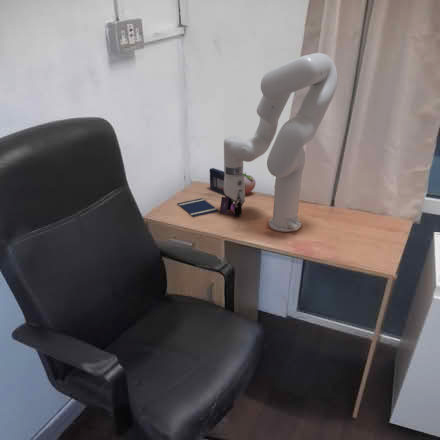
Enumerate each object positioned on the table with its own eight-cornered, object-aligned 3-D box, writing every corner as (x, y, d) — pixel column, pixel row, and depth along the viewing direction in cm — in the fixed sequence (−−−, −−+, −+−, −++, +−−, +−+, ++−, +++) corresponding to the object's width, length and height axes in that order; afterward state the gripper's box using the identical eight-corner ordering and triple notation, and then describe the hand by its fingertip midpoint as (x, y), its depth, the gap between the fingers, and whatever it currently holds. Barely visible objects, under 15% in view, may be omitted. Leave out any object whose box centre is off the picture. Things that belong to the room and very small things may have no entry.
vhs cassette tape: (209, 189, 200) (209, 168, 194) (214, 187, 201) (214, 167, 196) (235, 200, 188) (235, 178, 182) (240, 198, 189) (240, 177, 184)
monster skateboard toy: (221, 196, 173) (241, 200, 170) (226, 196, 178) (245, 199, 175) (218, 213, 175) (238, 216, 172) (223, 212, 180) (243, 216, 177)
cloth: (218, 211, 178) (218, 210, 178) (193, 216, 173) (193, 216, 173) (201, 199, 189) (201, 198, 189) (177, 204, 185) (177, 203, 185)
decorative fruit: (231, 194, 194) (231, 173, 188) (242, 189, 199) (242, 168, 193) (247, 199, 189) (248, 177, 183) (258, 193, 194) (259, 172, 188)
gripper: (253, 174, 160) (252, 217, 170) (231, 162, 173) (231, 204, 183) (236, 177, 157) (236, 221, 167) (215, 165, 170) (216, 207, 180)
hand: (233, 212), depth 175 cm, fingers closed on monster skateboard toy, 6 cm apart
